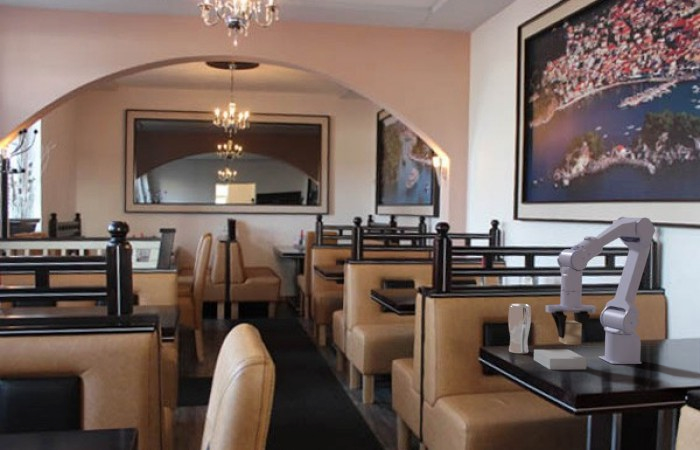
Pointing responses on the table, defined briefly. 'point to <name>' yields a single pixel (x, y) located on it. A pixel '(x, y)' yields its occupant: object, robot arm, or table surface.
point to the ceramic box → (560, 359)
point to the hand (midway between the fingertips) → (569, 337)
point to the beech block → (572, 333)
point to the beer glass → (519, 327)
